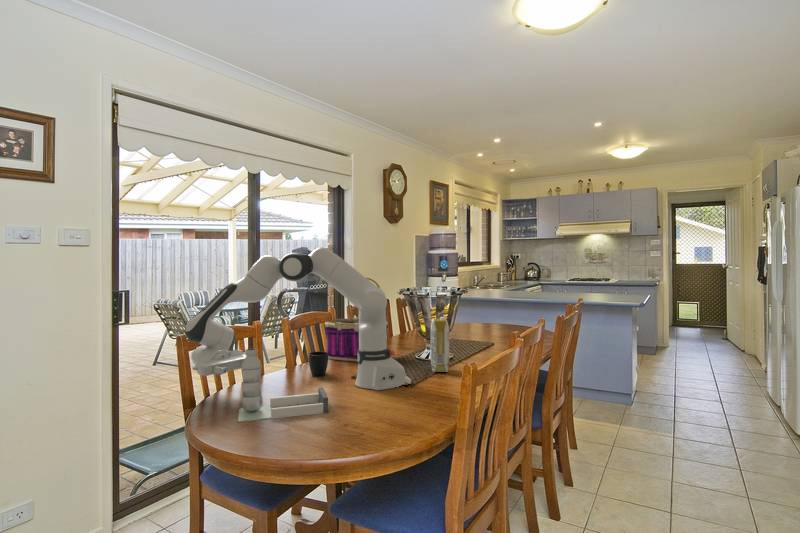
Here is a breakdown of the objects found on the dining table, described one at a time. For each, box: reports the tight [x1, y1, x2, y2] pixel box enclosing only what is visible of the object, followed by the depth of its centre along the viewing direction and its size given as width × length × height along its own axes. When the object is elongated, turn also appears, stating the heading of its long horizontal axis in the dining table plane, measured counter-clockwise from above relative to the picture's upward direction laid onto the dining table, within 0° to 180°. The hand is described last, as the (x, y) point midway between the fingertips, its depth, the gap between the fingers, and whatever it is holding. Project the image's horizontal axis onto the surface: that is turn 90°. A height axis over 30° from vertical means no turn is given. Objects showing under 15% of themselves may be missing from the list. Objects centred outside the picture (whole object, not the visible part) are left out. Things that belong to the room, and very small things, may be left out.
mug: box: [308, 350, 329, 378], centre depth 198 cm, size 8×12×10 cm
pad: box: [237, 404, 272, 423], centre depth 149 cm, size 10×12×1 cm
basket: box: [324, 276, 389, 363], centre depth 229 cm, size 31×20×40 cm, turn 69°
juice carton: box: [430, 316, 450, 372], centre depth 202 cm, size 9×8×24 cm
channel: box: [269, 386, 329, 420], centre depth 153 cm, size 18×12×5 cm
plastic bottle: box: [240, 348, 264, 411], centre depth 151 cm, size 6×7×20 cm
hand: (237, 368), depth 157 cm, fingers open, 8 cm apart
